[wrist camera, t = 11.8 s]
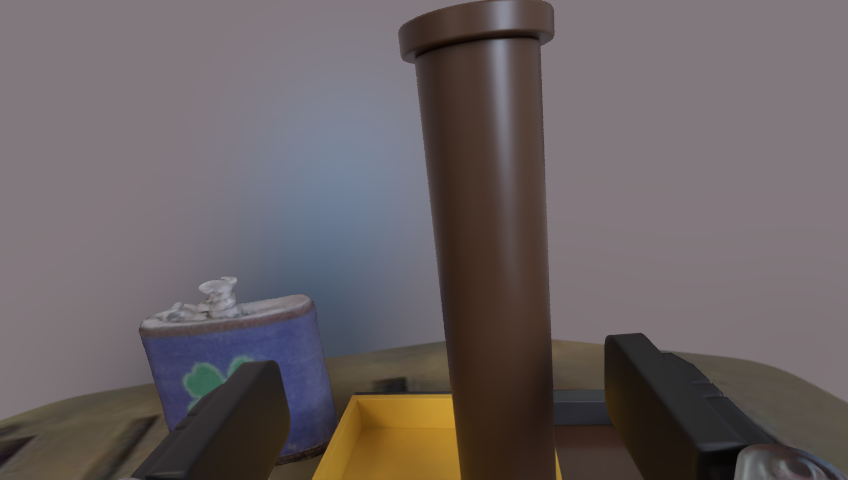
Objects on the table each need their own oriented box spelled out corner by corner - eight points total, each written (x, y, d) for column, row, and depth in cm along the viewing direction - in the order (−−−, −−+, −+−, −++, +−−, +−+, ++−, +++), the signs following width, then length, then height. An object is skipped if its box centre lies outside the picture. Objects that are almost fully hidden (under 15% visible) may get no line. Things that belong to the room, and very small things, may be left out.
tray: (93, 1089, 7) (-766, -67, 3) (359, 432, 23) (297, 92, 18) (709, 1282, 6) (1148, -798, 1) (545, 433, 21) (529, 60, 17)
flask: (343, 423, 26) (310, 259, 23) (336, 460, 23) (297, 278, 20) (192, 444, 25) (140, 281, 23) (166, 484, 23) (103, 303, 20)
